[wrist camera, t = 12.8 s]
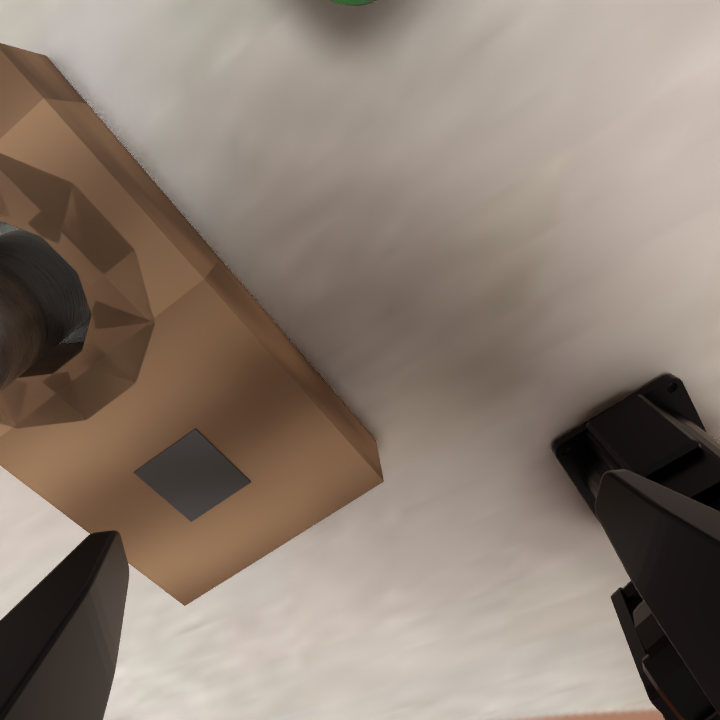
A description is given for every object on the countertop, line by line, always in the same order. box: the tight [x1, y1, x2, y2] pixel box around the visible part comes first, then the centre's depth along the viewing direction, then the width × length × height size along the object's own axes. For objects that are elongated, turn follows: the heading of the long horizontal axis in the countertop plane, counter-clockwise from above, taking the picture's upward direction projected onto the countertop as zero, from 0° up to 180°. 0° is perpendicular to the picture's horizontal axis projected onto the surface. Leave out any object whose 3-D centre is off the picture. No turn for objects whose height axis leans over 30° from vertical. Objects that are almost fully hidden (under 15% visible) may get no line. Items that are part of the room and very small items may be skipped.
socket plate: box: [0, 43, 384, 606], centre depth 20 cm, size 19×11×3 cm, turn 36°
